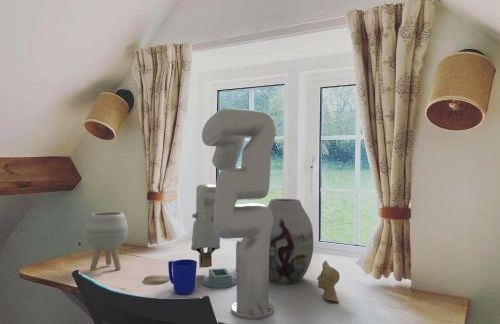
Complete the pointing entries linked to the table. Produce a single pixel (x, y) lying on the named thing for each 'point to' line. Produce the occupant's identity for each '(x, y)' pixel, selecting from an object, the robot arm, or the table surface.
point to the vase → (289, 241)
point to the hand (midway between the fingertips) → (205, 264)
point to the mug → (183, 275)
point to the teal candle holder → (219, 279)
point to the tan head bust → (328, 282)
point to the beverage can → (237, 248)
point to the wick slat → (205, 260)
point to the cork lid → (156, 279)
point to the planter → (106, 236)
